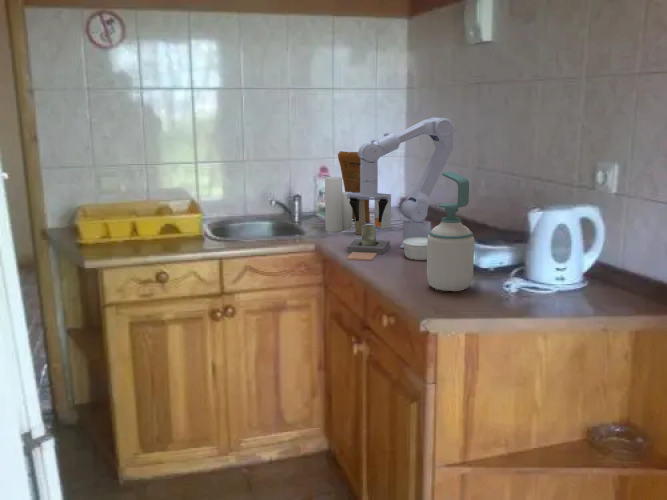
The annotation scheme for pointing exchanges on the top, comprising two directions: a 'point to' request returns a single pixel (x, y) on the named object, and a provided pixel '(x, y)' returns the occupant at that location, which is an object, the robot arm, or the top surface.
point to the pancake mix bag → (352, 176)
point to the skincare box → (385, 218)
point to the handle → (360, 217)
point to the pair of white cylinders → (337, 206)
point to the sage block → (369, 235)
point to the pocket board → (368, 247)
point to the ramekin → (416, 248)
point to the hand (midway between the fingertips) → (368, 221)
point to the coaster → (361, 256)
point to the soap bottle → (451, 245)
